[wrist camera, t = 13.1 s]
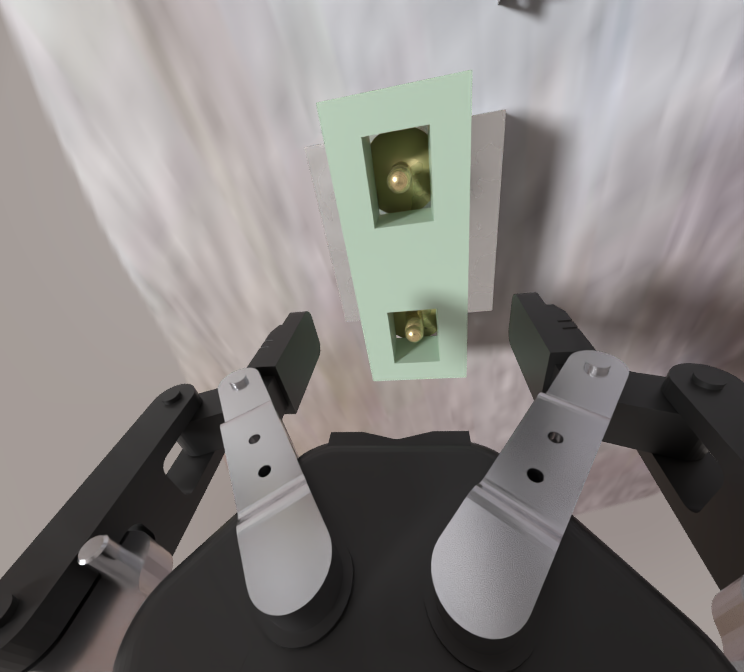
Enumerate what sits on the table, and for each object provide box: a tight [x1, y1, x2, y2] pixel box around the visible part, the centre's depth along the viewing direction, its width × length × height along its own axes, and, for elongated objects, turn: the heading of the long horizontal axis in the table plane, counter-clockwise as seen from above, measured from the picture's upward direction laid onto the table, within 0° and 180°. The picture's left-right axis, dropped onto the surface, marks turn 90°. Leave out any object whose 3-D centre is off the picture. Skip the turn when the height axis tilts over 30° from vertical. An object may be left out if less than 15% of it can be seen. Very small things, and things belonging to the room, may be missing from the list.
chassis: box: [304, 109, 506, 342], centre depth 20 cm, size 13×12×8 cm
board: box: [316, 70, 472, 381], centre depth 18 cm, size 16×6×3 cm, turn 9°
